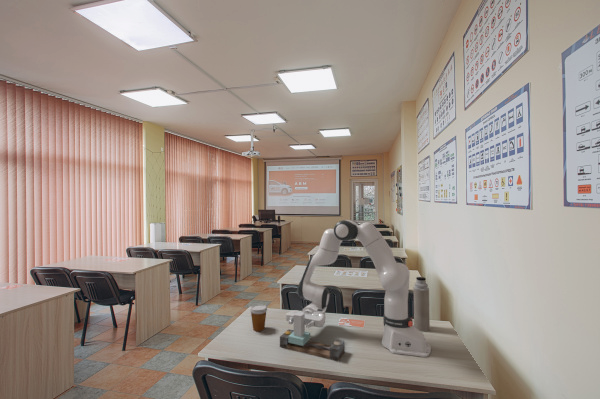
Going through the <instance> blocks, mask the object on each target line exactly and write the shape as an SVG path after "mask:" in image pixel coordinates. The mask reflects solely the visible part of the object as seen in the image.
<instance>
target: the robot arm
mask: <svg viewBox="0 0 600 399" xmlns="http://www.w3.org/2000/svg"><path fill="white" fill-rule="evenodd" d="M355 240H358V241H359V242H360V243H361V245H362V246H363V248H364V249H365V251H366V253H367V255H368V256H369V258H370V260H371V261H372V263H373V265H374V268H375V270H376V272H377V275H378V278H379V283H380V285H381V287H382V289H384V290H385V294H384V299H383V301H384V304H383V305H384V306H383V309H384V310H383V311H384V313H383V317H382V318H383V320H382V321H383V326H384V327H383V334H382V339H381V345H382V347H384V348H386V349H387V350H389V352H390V353H391V354H395V355H396V354H397V355H398V354H399V355H406V356H413V357H422V358H426V357H429V356H430V354H431V351H432V349H431V345H430V344H429V343H428V342H427V341H426V338H425V336H424V333H423V331H419V330H418V329H417V328H416V327H415V326H414V320H413V317H412V316H411V317H410V316H409V303H408V302H409V291H410V274H411V273H410V272H411V271H410V269H409V268H408V266H407V265H406V264H404V263H402V262H397V261H396V259H395V256H394V253H393V251H392V248H391V247H390V245H389V243H388V242H387V241H386V239H385V238H384V236H383V235H382V233H381V232H380V231H379V230H378V229H377V227H376V226H375V225H374V224H373V223H371V222H368V221H366V222H362V223H361V224H359V223H358V222H357V221H356V220H350V219H342V220H339V221H338V222H336V224H335V225H334V227H333V228H327V229H326V230H324V232H323V234H322V236H321V239H320V242H319V246H318V249H317V251H316V253H312V255H311V256H310V258H309V260H308V262H307V264H306V267H305V269H304V272H303V275H302V277H301V279H300V281H299V284H298V285H297V287H296V288H297V289H296V293H297V295H298V297H299V298H300V299H304V300H307V301H310V303H309V304H308V305H306V306H305V307H304V308H302V310H297V309H295V310H290V311H288V312H287V313H285V320H286V322H288V325H294V314H295V313H297V312H300V313H305V329H306V328H307V329H310V328H311V327H312V328H313V327H316V328H323V327H324V326H325V323H326V312H327V311H326V310H327V308H328V305H329V303H330V299H331V294H330V290H329V289H328V287H326V286H323V285H320V284H318V283H314V282H312V281H311V278H312V276H313V273H314V271H315V268H316V267H318V266H319V267H320V266H328V265H332V264H334V263H335V262H336V261H337V259H338V256H339V253H340V247H341V244H342V243H343V242H350V241H355Z"/></svg>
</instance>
